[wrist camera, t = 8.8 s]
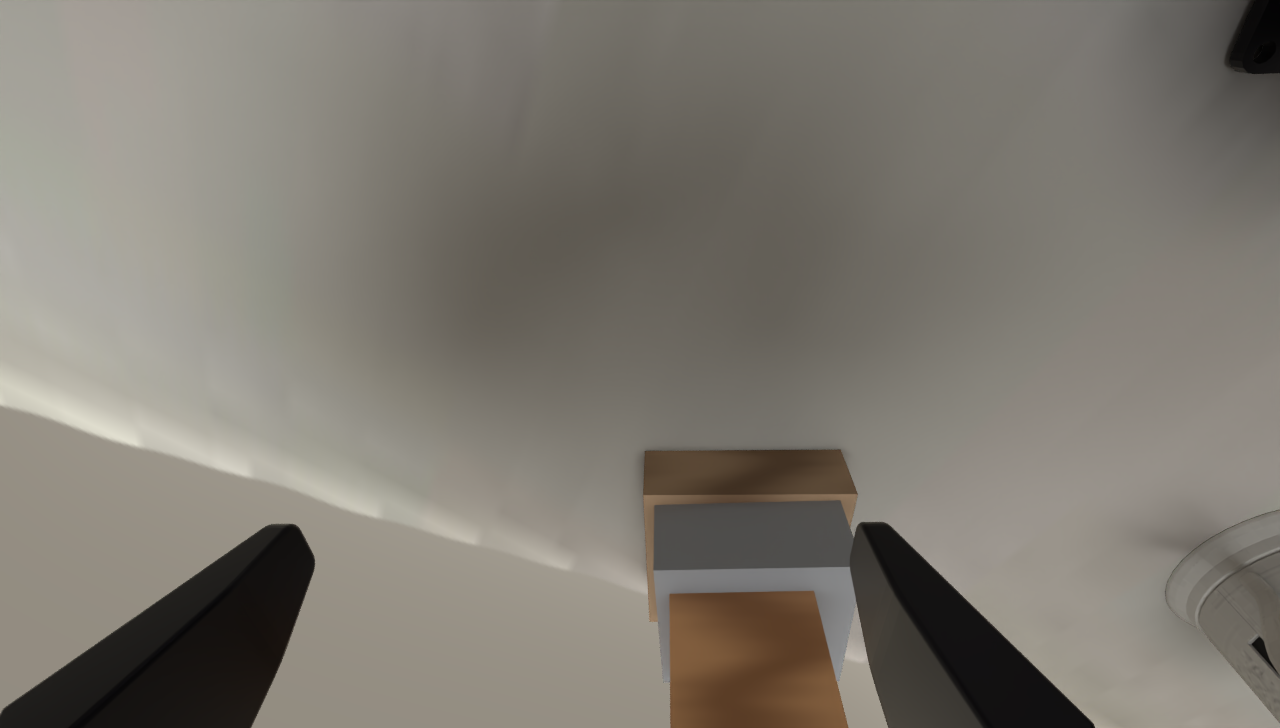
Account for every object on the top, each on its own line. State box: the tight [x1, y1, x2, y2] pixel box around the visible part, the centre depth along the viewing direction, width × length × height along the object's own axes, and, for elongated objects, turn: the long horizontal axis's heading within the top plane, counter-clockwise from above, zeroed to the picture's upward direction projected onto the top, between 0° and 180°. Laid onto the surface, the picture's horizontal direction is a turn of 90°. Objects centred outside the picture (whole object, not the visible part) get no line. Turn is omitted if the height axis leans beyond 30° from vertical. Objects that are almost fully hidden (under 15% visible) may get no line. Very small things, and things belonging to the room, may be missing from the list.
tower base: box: [643, 450, 858, 622], centre depth 25 cm, size 8×8×3 cm
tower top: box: [653, 500, 856, 682], centre depth 23 cm, size 7×7×3 cm
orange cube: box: [669, 591, 848, 728], centre depth 19 cm, size 5×5×5 cm
